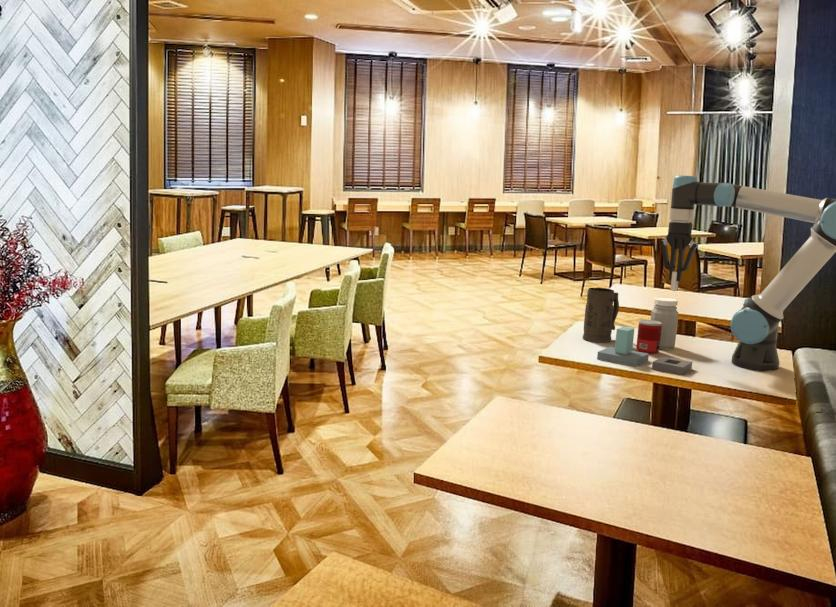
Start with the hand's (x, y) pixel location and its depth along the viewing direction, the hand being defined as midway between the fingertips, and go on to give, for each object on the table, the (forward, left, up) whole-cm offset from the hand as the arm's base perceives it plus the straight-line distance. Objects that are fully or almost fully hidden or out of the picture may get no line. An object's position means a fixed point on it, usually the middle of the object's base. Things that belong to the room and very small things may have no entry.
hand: (673, 290), depth 269 cm
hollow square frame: (-6, +13, -24) cm, 28 cm away
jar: (+8, -18, -25) cm, 31 cm away
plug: (+11, +13, -24) cm, 30 cm away
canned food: (+9, -6, -25) cm, 27 cm away
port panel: (+11, +13, -24) cm, 30 cm away
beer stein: (+30, -13, -25) cm, 41 cm away
